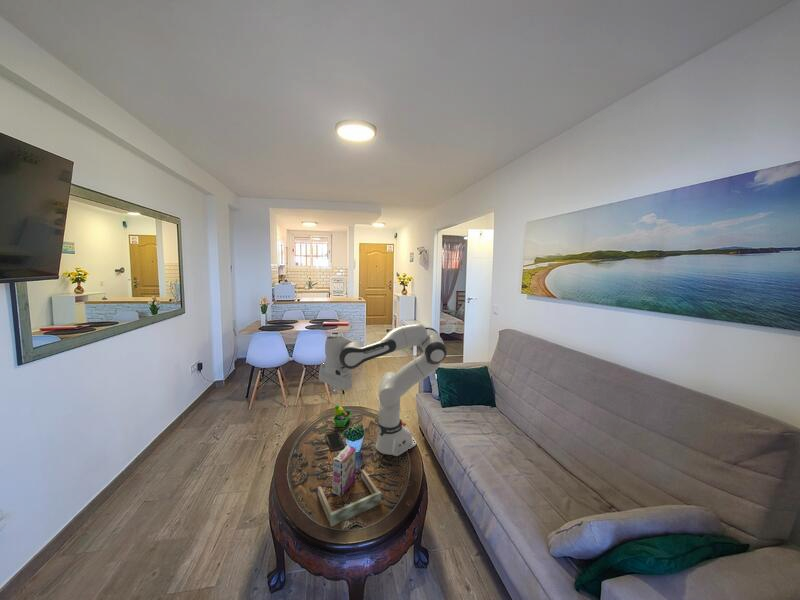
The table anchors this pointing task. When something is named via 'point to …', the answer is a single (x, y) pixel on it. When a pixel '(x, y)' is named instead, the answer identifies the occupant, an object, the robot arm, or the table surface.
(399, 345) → the robot arm
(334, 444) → the phone
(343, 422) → the fruit basket
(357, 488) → the table surface
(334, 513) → the dock
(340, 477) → the candy bar box
